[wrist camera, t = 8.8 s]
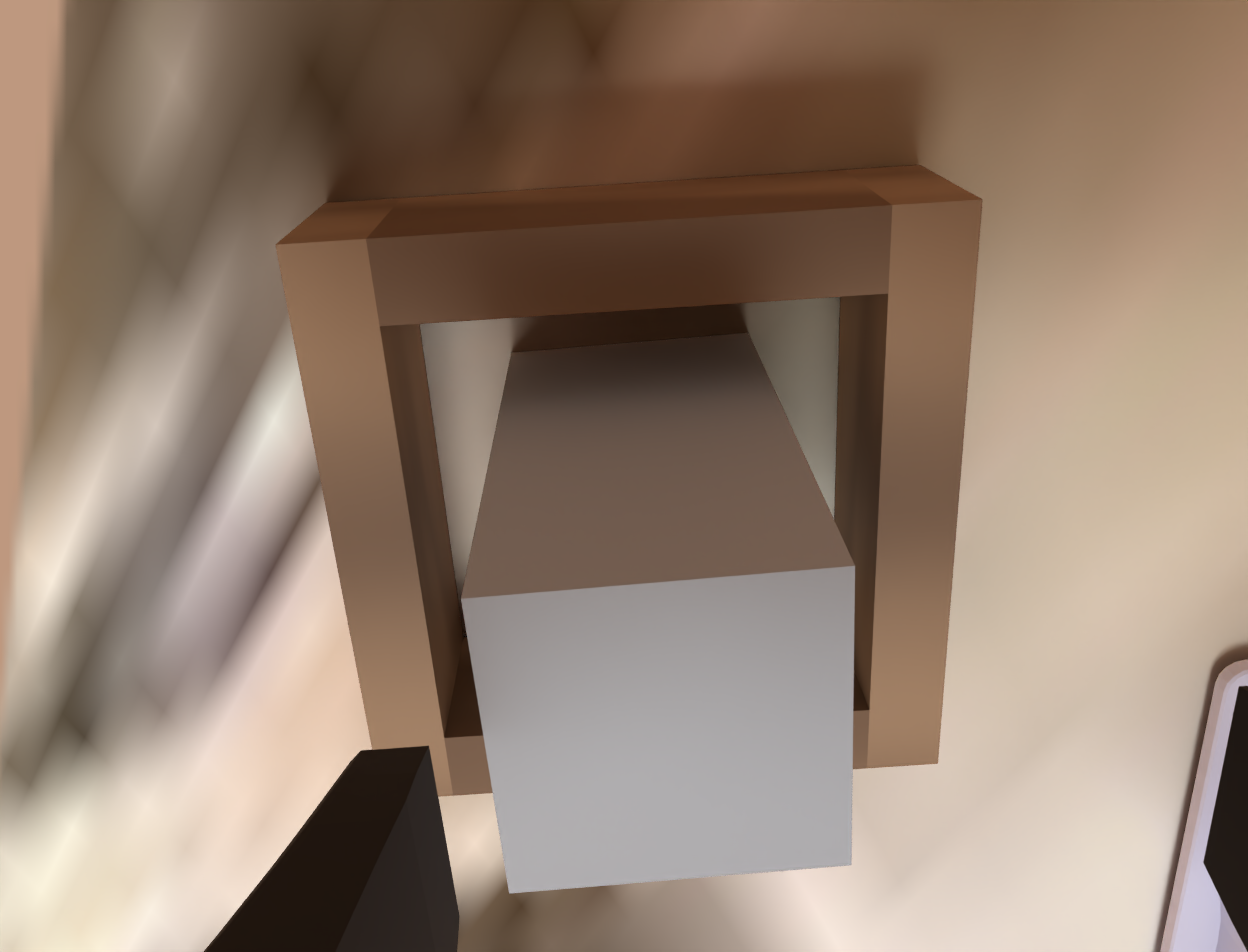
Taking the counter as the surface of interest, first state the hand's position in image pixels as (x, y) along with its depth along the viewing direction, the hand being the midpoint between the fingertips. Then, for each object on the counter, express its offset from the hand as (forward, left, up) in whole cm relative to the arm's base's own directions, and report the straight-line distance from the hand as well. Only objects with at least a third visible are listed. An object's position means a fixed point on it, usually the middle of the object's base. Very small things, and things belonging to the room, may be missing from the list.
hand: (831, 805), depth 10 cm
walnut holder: (-1, +1, -10) cm, 10 cm away
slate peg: (-1, +1, -10) cm, 10 cm away
